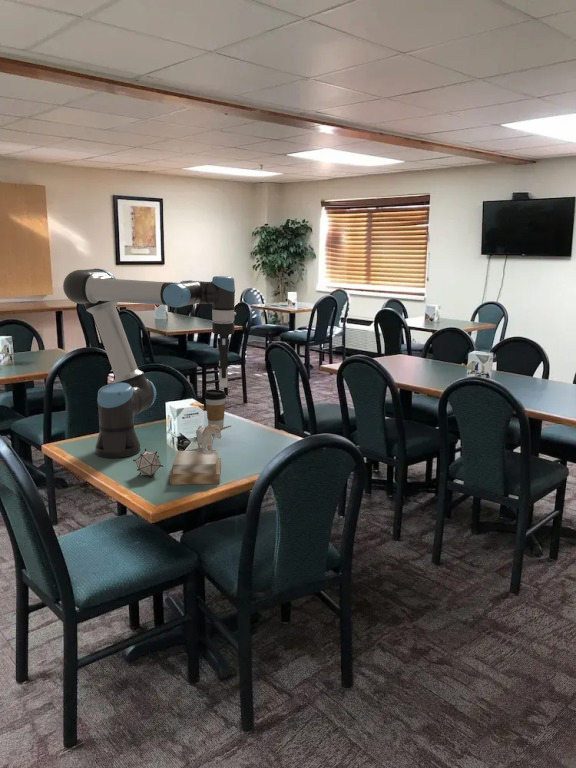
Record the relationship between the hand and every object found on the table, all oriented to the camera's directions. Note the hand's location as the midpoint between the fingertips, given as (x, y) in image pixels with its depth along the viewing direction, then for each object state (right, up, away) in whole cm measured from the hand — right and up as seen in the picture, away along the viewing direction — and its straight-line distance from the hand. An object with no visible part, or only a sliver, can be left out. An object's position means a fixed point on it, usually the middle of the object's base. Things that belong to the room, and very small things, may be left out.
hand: (223, 382), depth 216 cm
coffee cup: (-6, -18, +31) cm, 36 cm away
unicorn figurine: (-3, -26, -4) cm, 26 cm away
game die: (-21, -29, -21) cm, 42 cm away
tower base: (-6, -29, -21) cm, 36 cm away
